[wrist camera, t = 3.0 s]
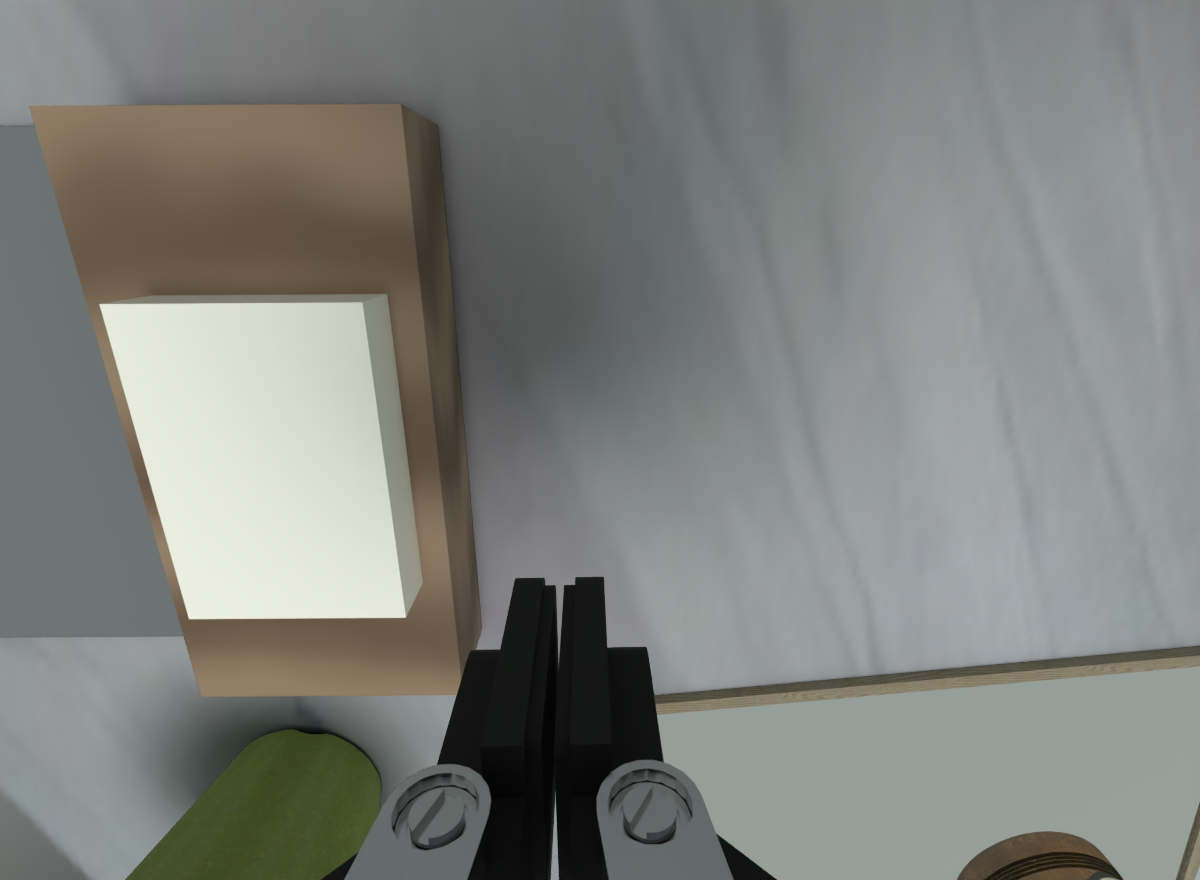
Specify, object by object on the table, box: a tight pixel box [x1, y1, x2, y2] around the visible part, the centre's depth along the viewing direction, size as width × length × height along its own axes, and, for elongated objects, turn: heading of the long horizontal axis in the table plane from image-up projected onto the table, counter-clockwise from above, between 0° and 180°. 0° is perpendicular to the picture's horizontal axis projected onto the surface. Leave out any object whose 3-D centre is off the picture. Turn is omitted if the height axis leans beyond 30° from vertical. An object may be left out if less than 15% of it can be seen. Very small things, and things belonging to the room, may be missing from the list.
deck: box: [29, 104, 482, 697], centre depth 21 cm, size 20×10×4 cm, turn 0°
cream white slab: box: [99, 294, 423, 619], centre depth 19 cm, size 10×7×2 cm
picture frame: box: [654, 646, 1200, 880], centre depth 31 cm, size 19×1×28 cm
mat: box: [0, 127, 183, 638], centre depth 23 cm, size 20×12×1 cm, turn 0°
